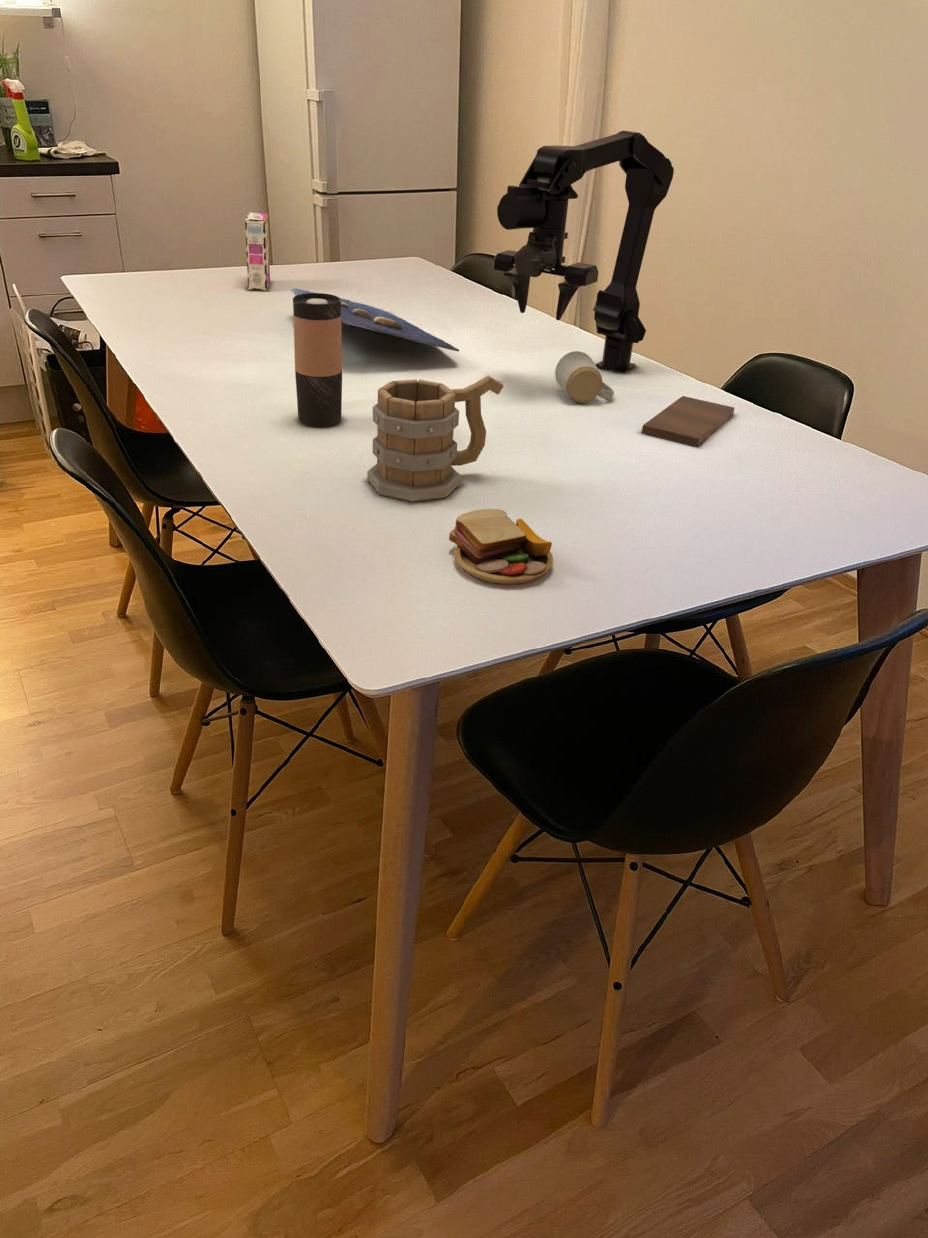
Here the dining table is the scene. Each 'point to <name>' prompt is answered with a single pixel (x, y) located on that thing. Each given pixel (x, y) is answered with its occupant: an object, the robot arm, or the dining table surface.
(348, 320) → the serving platter
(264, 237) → the candy bar box
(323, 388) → the travel mug
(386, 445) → the tankard
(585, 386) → the ceramic mug
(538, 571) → the toy sandwich meal
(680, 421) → the walnut board
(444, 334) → the dining table surface
